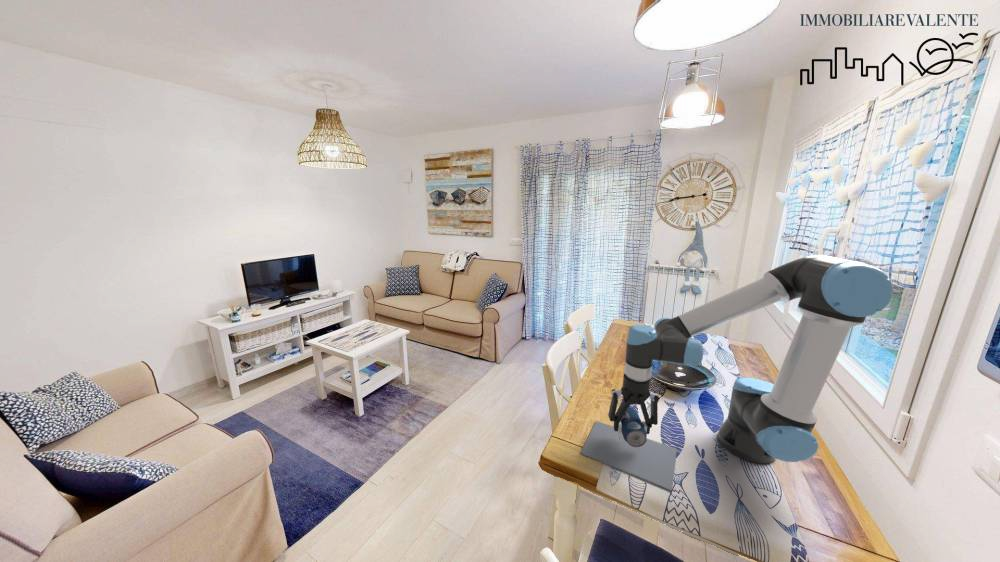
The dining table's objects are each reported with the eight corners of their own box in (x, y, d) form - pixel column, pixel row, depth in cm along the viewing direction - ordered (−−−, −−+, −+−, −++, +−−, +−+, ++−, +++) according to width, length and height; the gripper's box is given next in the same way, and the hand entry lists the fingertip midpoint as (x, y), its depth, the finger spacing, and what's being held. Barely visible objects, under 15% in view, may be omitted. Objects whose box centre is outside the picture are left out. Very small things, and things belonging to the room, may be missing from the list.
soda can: (619, 402, 105) (628, 426, 93) (639, 407, 104) (652, 433, 93) (612, 419, 106) (621, 445, 95) (632, 424, 106) (644, 451, 94)
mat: (676, 450, 101) (676, 448, 101) (671, 491, 87) (672, 490, 87) (596, 421, 115) (596, 420, 115) (580, 453, 100) (580, 452, 100)
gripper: (666, 371, 97) (658, 434, 102) (601, 367, 100) (596, 429, 105) (676, 384, 90) (667, 452, 95) (605, 379, 92) (600, 445, 98)
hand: (630, 440), depth 100 cm, fingers closed on soda can, 7 cm apart
